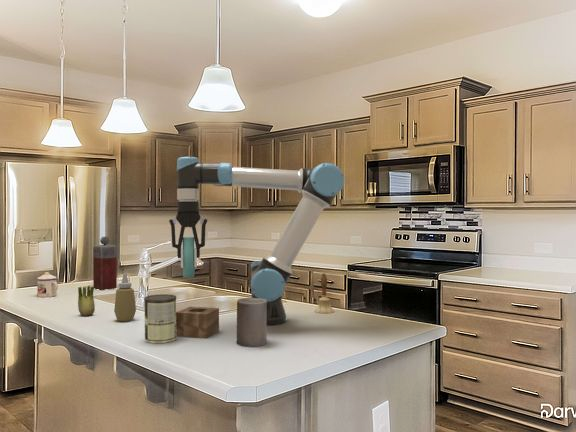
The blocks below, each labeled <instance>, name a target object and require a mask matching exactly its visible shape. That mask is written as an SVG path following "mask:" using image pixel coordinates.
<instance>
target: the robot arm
mask: <svg viewBox="0 0 576 432" xmlns="http://www.w3.org/2000/svg"><path fill="white" fill-rule="evenodd" d="M176 162H177V163H176V187H177V189H176V194H177V195H176V200H177V201H178V202H177V203H176V208H177V209H176V211H177V212H176V213H177V214H176V216H175V217H174V218H171V219H169V220H168V223H169V224H170V227H171V228H170V229H171V230H170V231H171V233H170V234H171V246H172V248H175V249H177V252H176V254H177V255H176V256H177V258H178V259H180V268H181V269H183V248H182V246H183V237H184V234H185V229H186V228H191V230H192V231H191V232H192V234H193V237H194V246H195V247H194V268H198V266H197V264H198V263H197V262H198V261H197V260H198V259H197V258H200V257H201V248H203V247H205V245H206V225H207V222H208V219H207V218H203V217H201V215H200V204H199V203H200V202H199V201H198V200H199V199H200V196H199V195H200V193H199V192H200V190H199V187H200V186H199V185H213V186H215V187H236V188H237V187H238V188H255V189H268V190H269V189H271V190H282V191H283V190H285V191H287V190H288V191H297V192H298V193H299V194H302V198H301V199H300V201H299V203H298V205H297V206H296V208H295V210H294V212H293V214H292V215H291V217H290V219H289V220H288V222H287V224H286V226H285V228H284V230H283V231H282V233H281V235H280V236H279V239H277V241H276V244H275V245H274V247H273V249H272V251H271V252H270V254H269V255H266V256H263V257H262V259H261V260H256V261H252V262H251V267H250V270H251V276H250V277H251V280H250V289H251V290H250V291H251V292H250V293H251V294H250V295H251V296H252V298H261V299H265V300H266V301H267V318H266V326H268V325H269V326H270V325H271V326H273V325H281V324H284V323H285V322H287V314H286V310H285V307H284V305H283V301H282V298H283V297H282V295H283V294H284V292H285V289H286V285H287V283H288V281H289V280H290V278H291V276H292V274H293V270H292V265H293V264H294V262H295V260H296V259H297V256H298V255H299V253H300V251H301V249H302V247H304V244H305V242H306V241H307V239H308V238H309V235H310V233H311V232H312V230H313V228H314V227H315V224H316V223H317V221H318V219H319V218H320V216H321V214H322V212H323V211H324V209H327V208H330V207H331V205H332V203H333V202H334V201H335V198H336V196H337V194H339V193H340V192H341V191H342V189H343V187H344V184H345V177H344V173H343V171H342V170H341V168H340V167H339V166H338V165H335V164H334V163H331V162H323V163H320V164H318V165H317V166H315V167H311V168H309V167H308V168H305V167H302V168H300V169H299V170H294V169H293V170H292V169H291V170H290V169H276V168H274V169H273V168H261V167H260V168H259V167H243V166H233V165H232V163H230V162H229V163H228V162H200V161H199V158H198V157H195V156H180V157H178V158H177V160H176ZM177 222H178V224H179V225H180V226H181V227H180V232H179V237H178V241H176V226H175V225H176V223H177ZM199 222H200V224H201V229H200V230H201V234H200V238H201V239H200V241H199V236H198V232H197V226H196V225H197V224H198V223H199ZM176 242H177V243H176ZM251 296H250V297H251Z"/></svg>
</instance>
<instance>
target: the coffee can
mask: <svg viewBox="0 0 576 432" xmlns="http://www.w3.org/2000/svg"><path fill="white" fill-rule="evenodd" d="M143 300H144V342H146V343H148V344H149V343H150V344H165V343H171V342H173V341H175V340H177V336H176V312H177V296H176V295H175V294H166V293H165V294H162V293H161V294H150V295H146V296H144V298H143Z"/></svg>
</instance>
